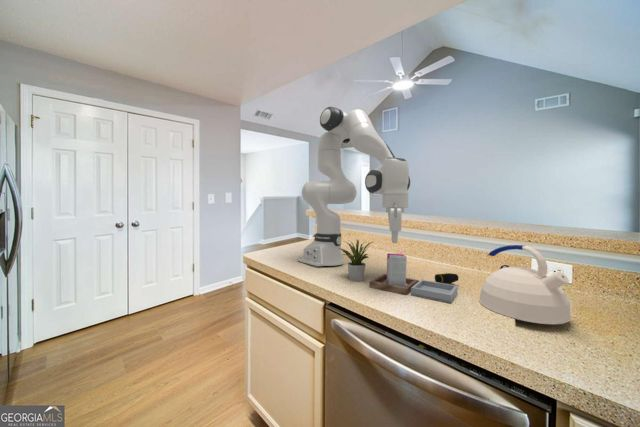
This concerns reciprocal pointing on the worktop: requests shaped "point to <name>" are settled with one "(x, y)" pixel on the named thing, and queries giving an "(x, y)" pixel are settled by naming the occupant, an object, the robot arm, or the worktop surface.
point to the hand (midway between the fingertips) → (394, 241)
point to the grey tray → (435, 291)
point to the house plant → (356, 261)
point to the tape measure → (446, 278)
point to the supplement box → (396, 269)
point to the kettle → (526, 291)
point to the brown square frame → (392, 288)
